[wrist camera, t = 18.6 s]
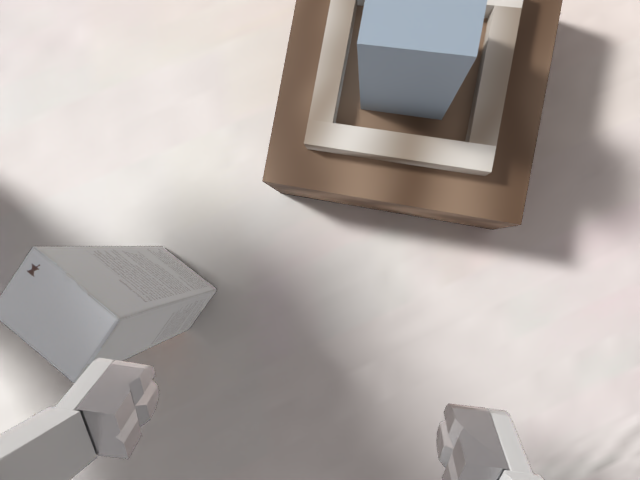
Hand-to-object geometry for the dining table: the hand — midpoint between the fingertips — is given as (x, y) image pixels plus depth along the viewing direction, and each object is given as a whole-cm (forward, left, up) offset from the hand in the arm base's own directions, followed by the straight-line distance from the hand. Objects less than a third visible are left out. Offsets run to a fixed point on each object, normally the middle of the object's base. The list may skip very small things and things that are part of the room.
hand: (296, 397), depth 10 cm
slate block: (+2, +16, -13) cm, 20 cm away
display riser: (+2, +16, -18) cm, 24 cm away
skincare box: (-13, -1, -18) cm, 23 cm away
